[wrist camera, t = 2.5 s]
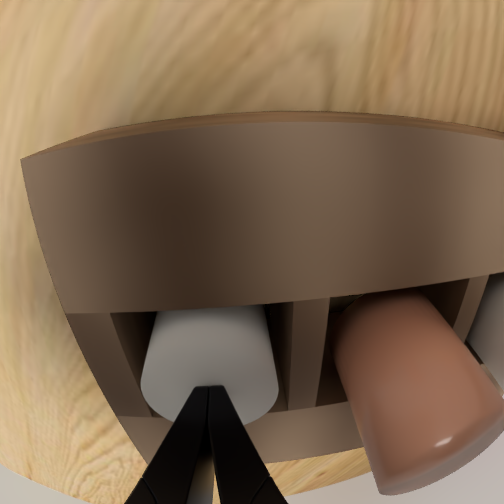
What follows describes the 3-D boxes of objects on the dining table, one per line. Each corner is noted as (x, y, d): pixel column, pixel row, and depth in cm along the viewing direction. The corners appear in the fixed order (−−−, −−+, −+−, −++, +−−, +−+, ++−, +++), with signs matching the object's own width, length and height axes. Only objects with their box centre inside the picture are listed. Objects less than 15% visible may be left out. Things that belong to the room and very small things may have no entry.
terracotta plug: (440, 277, 10) (535, 388, 5) (414, 359, 12) (471, 465, 7) (335, 290, 10) (408, 446, 5) (323, 377, 11) (362, 506, 7)
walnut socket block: (513, 135, 12) (590, 163, 7) (461, 342, 18) (501, 397, 13) (97, 130, 11) (20, 159, 6) (159, 384, 17) (148, 465, 12)
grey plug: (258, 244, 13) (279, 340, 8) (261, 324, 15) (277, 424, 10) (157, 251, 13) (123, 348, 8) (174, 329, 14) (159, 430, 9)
